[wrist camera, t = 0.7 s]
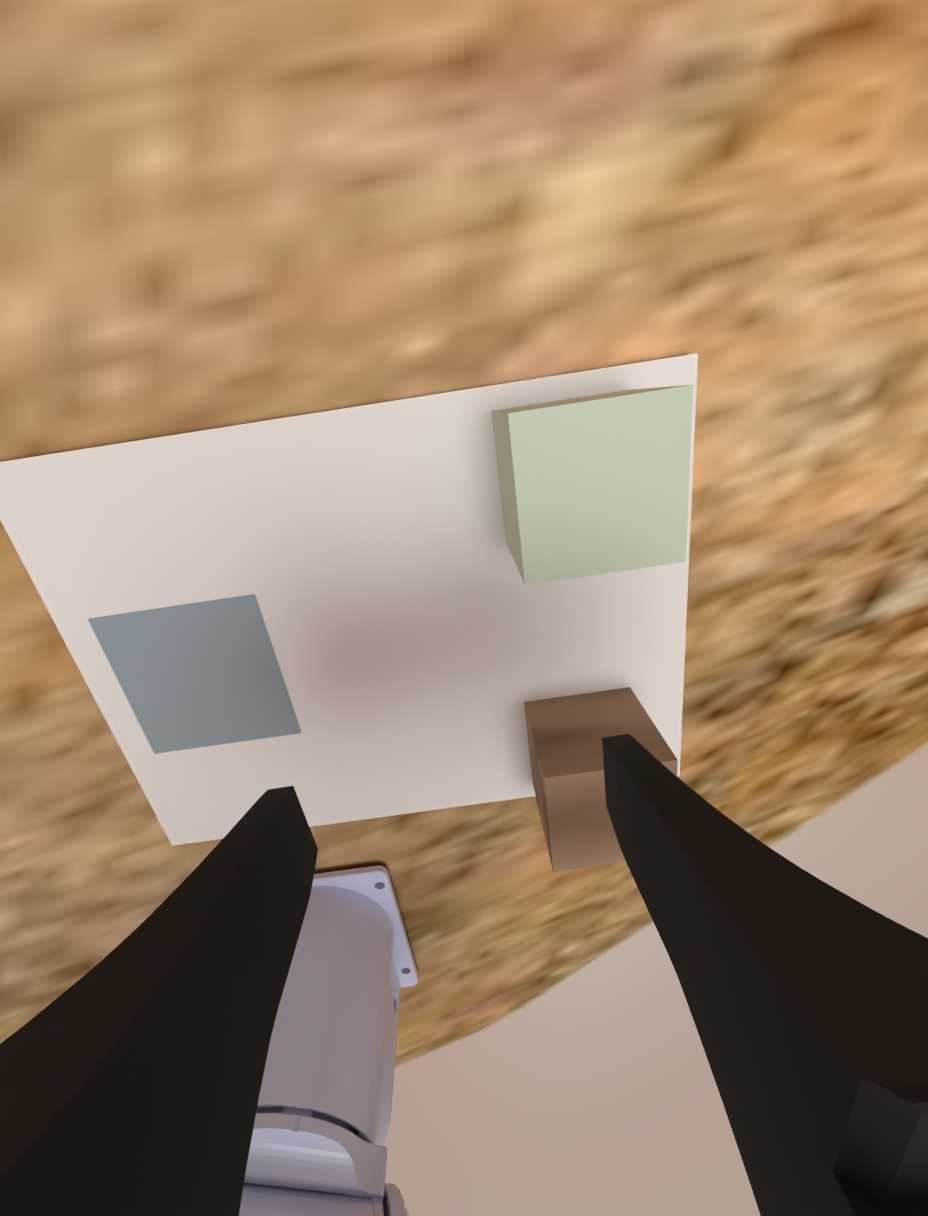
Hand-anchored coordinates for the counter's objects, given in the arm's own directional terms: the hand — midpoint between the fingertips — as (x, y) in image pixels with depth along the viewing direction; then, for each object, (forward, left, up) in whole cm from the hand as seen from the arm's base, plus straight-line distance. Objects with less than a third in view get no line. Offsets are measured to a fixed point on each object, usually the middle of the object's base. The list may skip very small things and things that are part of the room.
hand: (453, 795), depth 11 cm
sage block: (+6, -5, -9) cm, 11 cm away
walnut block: (-6, -5, -9) cm, 11 cm away
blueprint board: (0, +3, -9) cm, 9 cm away
